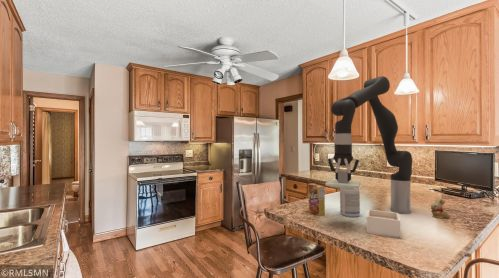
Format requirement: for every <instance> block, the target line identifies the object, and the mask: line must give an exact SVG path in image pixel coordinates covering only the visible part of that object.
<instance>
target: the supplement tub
mask: <svg viewBox="0 0 499 278" xmlns="http://www.w3.org/2000/svg"><path fill="white" fill-rule="evenodd" d="M360 193H361V192H360V187H359V188H354V189H345V188H339V199H340V200H339V201H340V202H339V203H340V204H339V205H340V206H339V207H340V208H339V210H340V214H341V215H342V216H344V217H350V218H351V217H352V218H356V217H359V216H360V215H361V201H360V200H361V199H360V198H361V197H360V196H361V195H360Z"/></svg>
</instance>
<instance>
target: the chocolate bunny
mask: <svg viewBox="0 0 499 278" xmlns="http://www.w3.org/2000/svg"><path fill="white" fill-rule="evenodd" d="M445 203H446V201H445V200H444V199H442V197H439V198H438V199H437V200H435V201H434V202H432V203H431V205H430V209H431V210H430V212H431V214H432V217H433V218H435V219H440V220H442V219H443V220H444V219H445V220H446V219H447V220H448V219H450V218H451V216H450V214H449V211H447V210H445V209H443V205H444V204H445Z"/></svg>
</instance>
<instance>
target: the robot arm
mask: <svg viewBox="0 0 499 278" xmlns="http://www.w3.org/2000/svg"><path fill="white" fill-rule="evenodd" d="M390 88H391V83H390V80H389V79H388V77H386V76H384V75H383V76H376V77H373V78H370V79H367V80H365V81H364V83H363V88H361V89H359V90H357V91H354V92H352V93H350V94H349V95H348V96H345V97H343V98H340V99H338V100H335V101H334V102H333V103H332V104H331V106H330V112H331V113H332V114H333V115H334V116H337V117H341V116H342V118H341V119H340V120H337V121H336V122H335V124H334V141H333V143H334V145H333V146H334V155H333V157H331V158H328V159H327V162H328V165H329V168H330V170H331V172H334V173H335V177H334V178H335V179H334V180H337V181H338V171H340V168H341V167H342V166H343V167H346V171H348V182H349V181H352V173H355V172H356V171H357V169H358V168H357V167H358V165H359V162H360V159H358V158H354V157H353V136H352V123H353V121H354V116H355V113H356V109H357V108H359V107H361V106H362V105H364V104H365V103H367V102H368V103H369V105H370V107H371V110H372V113H373V115H374V119H375V122H376V126H377V128H378V131H379V133H380V137H381V140H382V143H383V148H384V153H385V156H386V160H387V163H388V165H389V166H391V167H393V168H398V171H396V172H394V173H391V174H390V212H394V213H398V214H411V210H412V209H411V204H412V203H411V178H412V172H413V171H412V169H413V156H412V153H411V152H410V151H408V150H398V149H397V147H396V144H395V139H396V137H397V134H398V132H399V125H398V122H397V121H398V120H397V119H396V116H395V114H394V113H393V112H392V111H391V110H390V109H388V108H387V107H386V106H385V105H384V104H383V102H381V100H380V98H379V96H380V95H384V94H386V93H388V92H389V90H390ZM352 161H353V164H354V165H353V167H352V169H351V165H350V164H351V163H352ZM334 162H335V163H336V166H335V167H334Z"/></svg>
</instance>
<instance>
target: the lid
mask: <svg viewBox="0 0 499 278" xmlns="http://www.w3.org/2000/svg"><path fill="white" fill-rule="evenodd" d="M324 184H325V185H324V186H326V187H330V188H334V189H335V188H337V189H340V188H345V189H354V188H359V189H360V186H361V181H360V180H359V181H358V180H357V181H356V180H350V181H349V182H348V171H347V170H339V171H338V181H337V180H336V179H329V180H328V181H327V182H325V183H324Z"/></svg>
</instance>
